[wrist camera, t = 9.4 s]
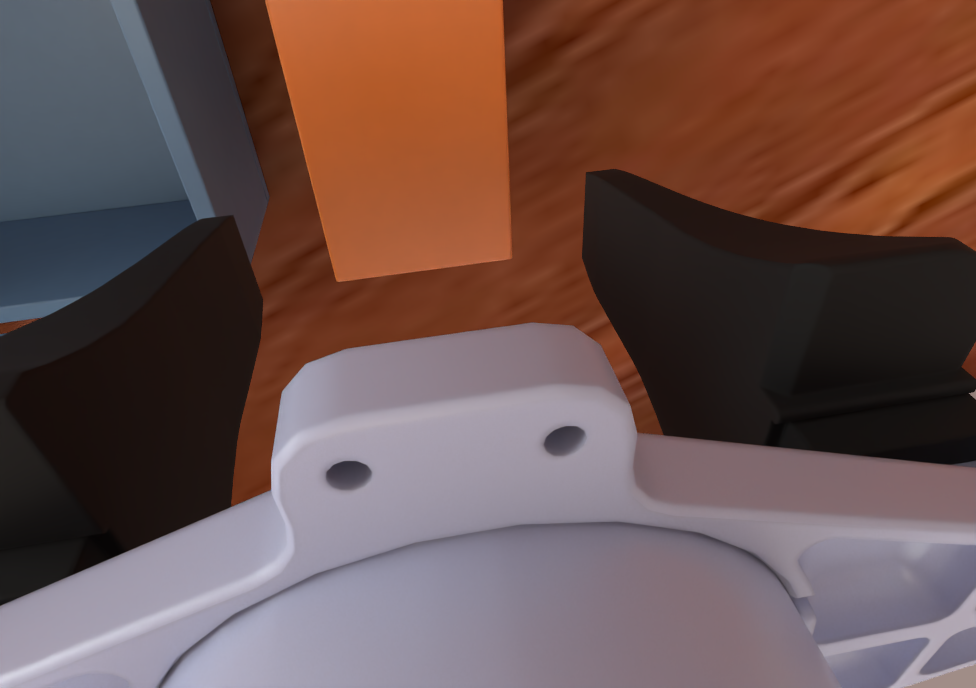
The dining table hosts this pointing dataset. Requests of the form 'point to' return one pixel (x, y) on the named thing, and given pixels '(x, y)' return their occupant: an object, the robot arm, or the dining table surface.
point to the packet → (401, 129)
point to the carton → (113, 142)
